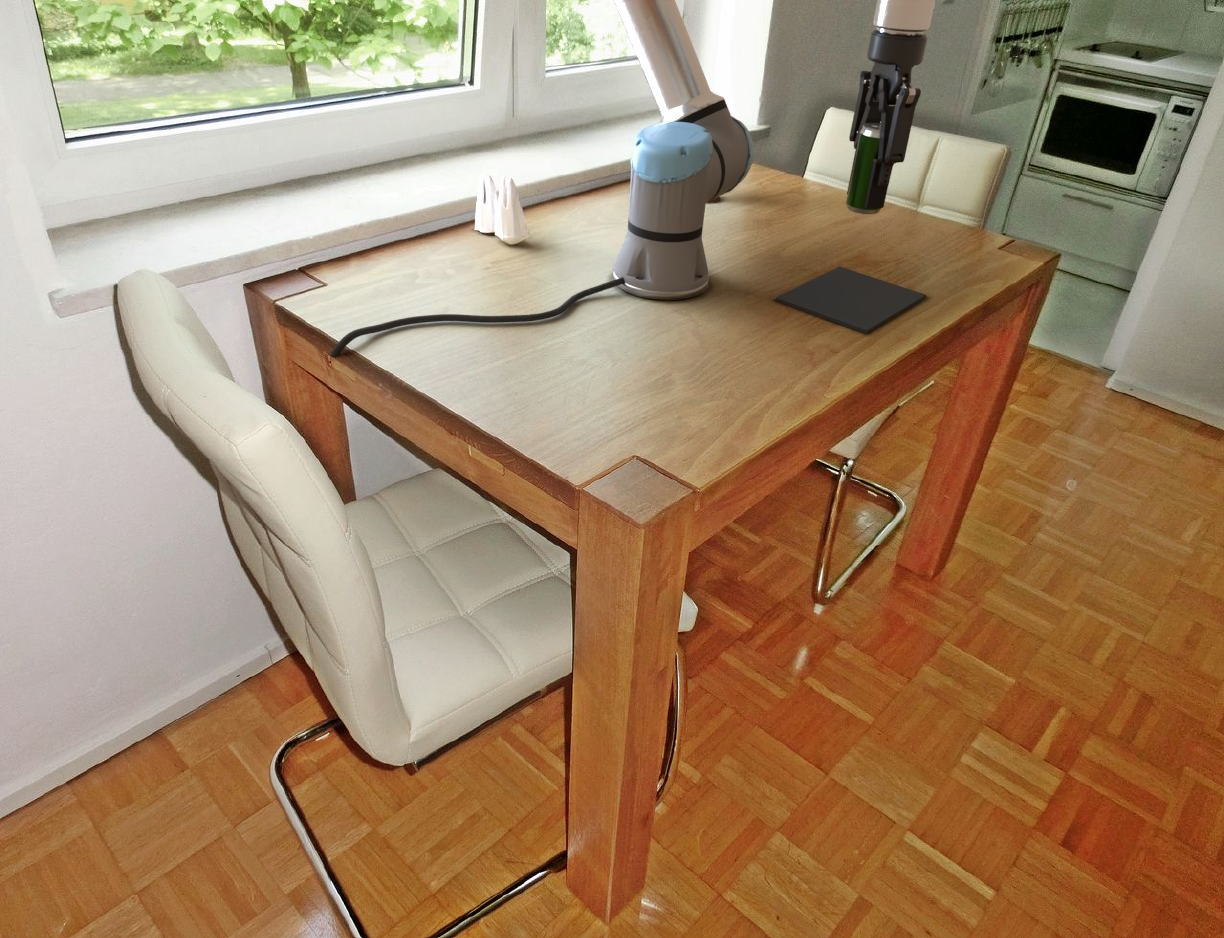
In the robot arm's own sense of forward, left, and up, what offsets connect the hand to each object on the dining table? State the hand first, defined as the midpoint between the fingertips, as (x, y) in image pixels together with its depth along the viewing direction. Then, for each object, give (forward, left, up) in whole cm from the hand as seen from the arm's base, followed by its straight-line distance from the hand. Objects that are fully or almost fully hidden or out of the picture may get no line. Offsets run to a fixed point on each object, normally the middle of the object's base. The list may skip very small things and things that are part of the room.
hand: (864, 200), depth 135 cm
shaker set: (-51, +30, -16) cm, 62 cm away
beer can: (0, 0, -1) cm, 1 cm away
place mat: (+1, -1, -15) cm, 15 cm away
